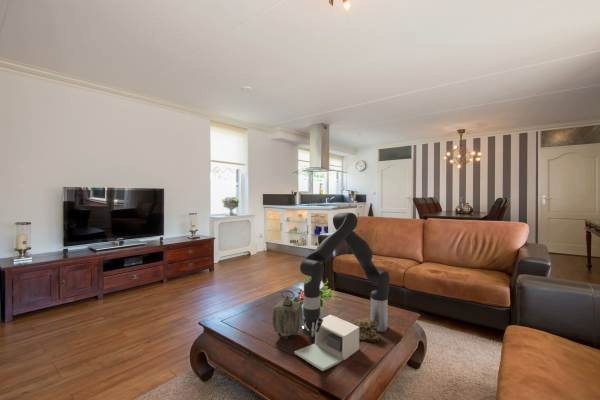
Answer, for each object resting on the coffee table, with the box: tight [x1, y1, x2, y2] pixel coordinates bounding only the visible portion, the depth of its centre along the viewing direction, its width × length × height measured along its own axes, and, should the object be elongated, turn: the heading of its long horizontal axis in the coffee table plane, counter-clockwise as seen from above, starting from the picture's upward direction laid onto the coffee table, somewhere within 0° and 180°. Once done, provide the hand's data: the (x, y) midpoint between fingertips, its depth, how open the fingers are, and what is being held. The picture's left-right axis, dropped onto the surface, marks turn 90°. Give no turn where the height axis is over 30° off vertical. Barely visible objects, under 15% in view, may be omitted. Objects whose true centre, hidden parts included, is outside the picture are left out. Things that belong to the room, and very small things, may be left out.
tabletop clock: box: [272, 290, 304, 340], centre depth 144 cm, size 14×9×25 cm, turn 77°
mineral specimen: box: [352, 317, 380, 343], centre depth 145 cm, size 14×13×10 cm
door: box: [294, 343, 343, 372], centre depth 125 cm, size 2×17×14 cm
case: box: [314, 314, 360, 361], centre depth 135 cm, size 12×18×12 cm, turn 44°
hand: (311, 343), depth 122 cm, fingers closed
